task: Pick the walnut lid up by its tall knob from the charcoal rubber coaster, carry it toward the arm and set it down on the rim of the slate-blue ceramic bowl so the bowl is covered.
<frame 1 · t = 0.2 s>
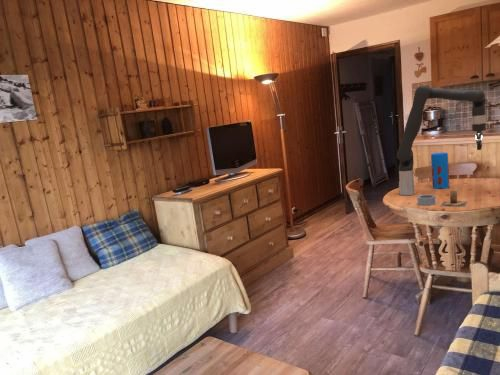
hand: (479, 149, 240), 29 cm above the table, fingers open, 8 cm apart
lid: (453, 197, 228), on the coaster
coaster: (453, 204, 229), on the table
bowl: (426, 204, 238), on the table
blue box: (440, 188, 278), on the table
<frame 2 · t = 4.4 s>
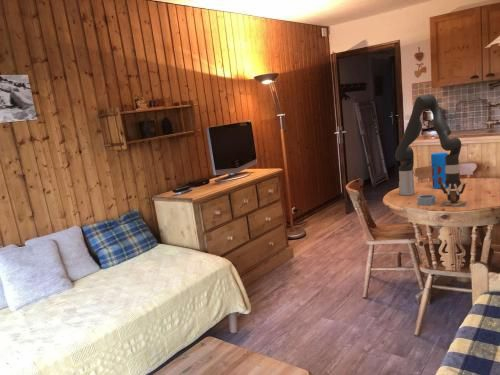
hand: (453, 200, 228), 3 cm above the table, fingers closed on lid, 3 cm apart
lid: (453, 197, 228), on the coaster, touching gripper
everything else where it was.
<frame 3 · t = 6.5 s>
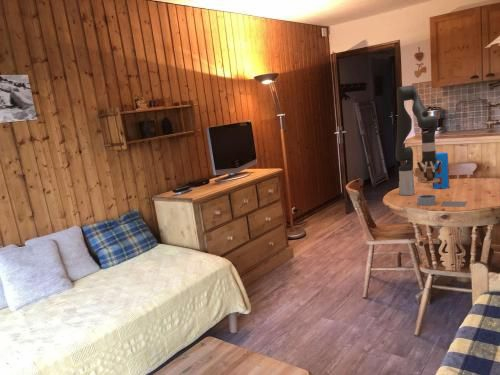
hand: (429, 177, 234), 17 cm above the table, fingers closed on lid, 3 cm apart
lid: (429, 175, 234), point 18 cm above the table, touching gripper
everything else where it was.
when the fingers open (8 cm above the table, at t = 8.8 s): lid stays where it is, resting on bowl.
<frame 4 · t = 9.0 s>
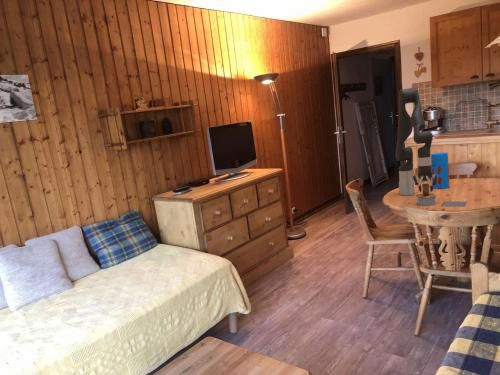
hand: (426, 191, 236), 8 cm above the table, fingers open, 5 cm apart
lid: (425, 190, 236), on the bowl, point 9 cm above the table
everything else where it was.
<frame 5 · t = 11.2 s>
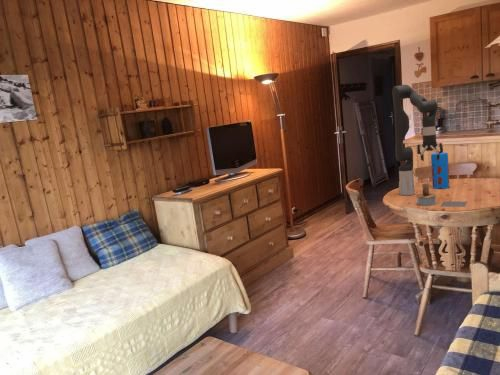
hand: (430, 160, 237), 27 cm above the table, fingers open, 8 cm apart
nothing on the table moved.
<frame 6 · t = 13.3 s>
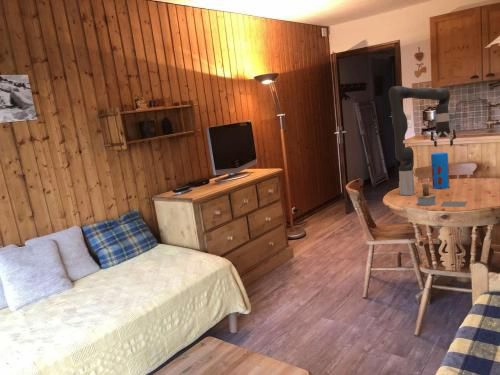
hand: (443, 146, 243), 33 cm above the table, fingers open, 8 cm apart
nothing on the table moved.
at the end: lid 0.1 cm off-centre on the bowl, point 8.9 cm above the bowl's base; lid tilted 0°; the gripper is holding nothing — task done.
